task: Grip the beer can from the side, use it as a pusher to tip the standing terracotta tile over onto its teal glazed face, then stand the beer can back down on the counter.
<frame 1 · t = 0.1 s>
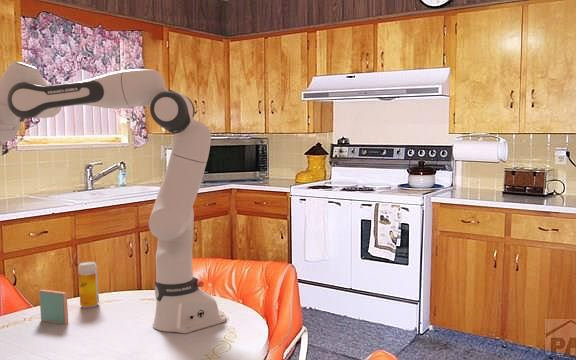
tile: (54, 321, 173), on the table
beer can: (89, 306, 188), on the table
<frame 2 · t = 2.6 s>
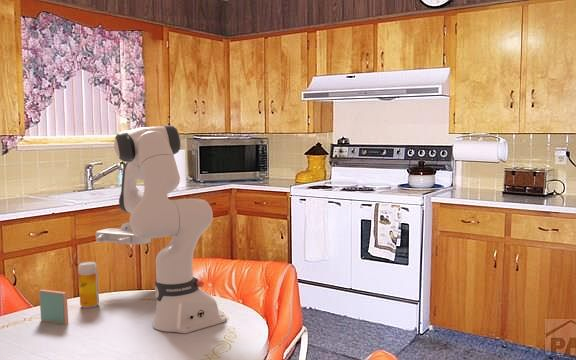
hand: (108, 241, 197), 20 cm above the table, tool horizontal, fingers open, 8 cm apart
nothing on the table moved.
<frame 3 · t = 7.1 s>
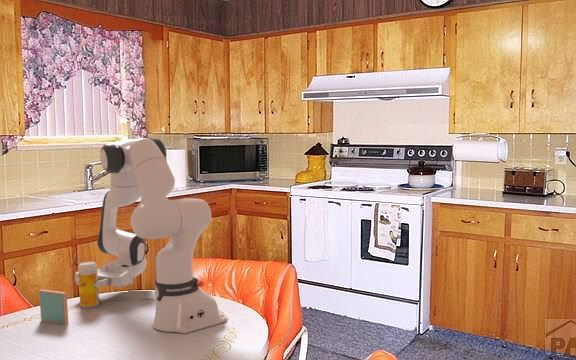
hand: (86, 283, 186), 8 cm above the table, tool horizontal, fingers closed on beer can, 6 cm apart
beer can: (89, 306, 188), on the table, touching gripper
everything else where it was.
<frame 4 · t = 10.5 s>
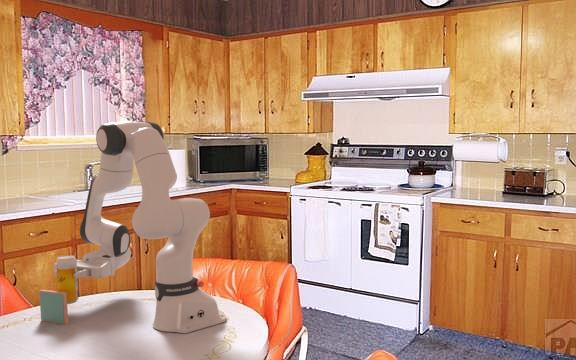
hand: (65, 274, 177), 14 cm above the table, tool horizontal, fingers closed on beer can, 6 cm apart
beer can: (68, 302, 179), point 4 cm above the table, touching gripper
everything else where it was.
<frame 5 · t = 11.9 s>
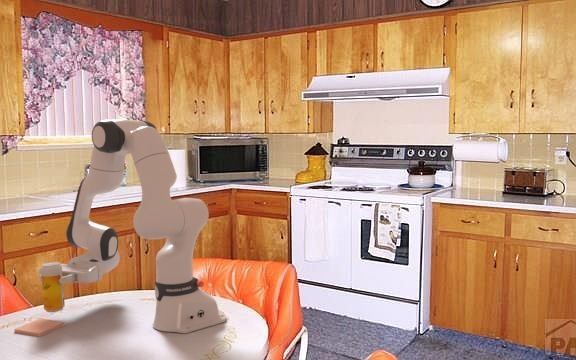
hand: (50, 280, 171), 14 cm above the table, tool horizontal, fingers closed on beer can, 6 cm apart
tile: (52, 321, 172), on the table, tilted 90°
beer can: (54, 310, 173), point 4 cm above the table, touching gripper
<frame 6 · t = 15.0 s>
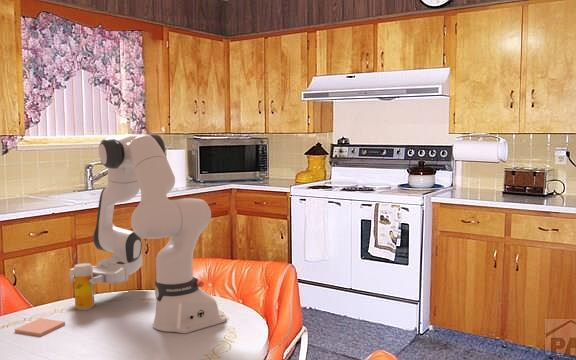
hand: (81, 280, 184), 10 cm above the table, tool horizontal, fingers closed on beer can, 6 cm apart
beer can: (85, 308, 186), on the table, touching gripper
everything else where it was.
when the fingers open (10 cm above the table, at t = 15.0 s): beer can stays where it is, on the table.
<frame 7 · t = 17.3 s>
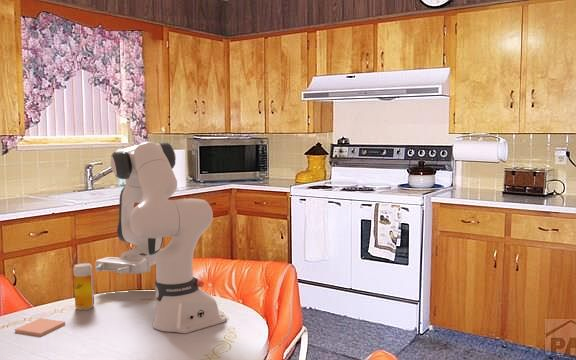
hand: (107, 270, 196), 10 cm above the table, tool horizontal, fingers open, 8 cm apart
beer can: (85, 308, 186), on the table
everything else where it was.
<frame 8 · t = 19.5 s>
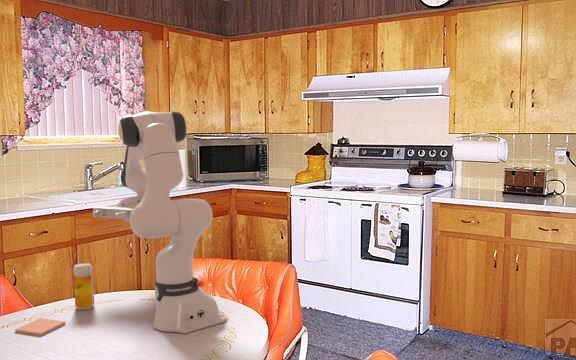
hand: (104, 215, 194), 30 cm above the table, tool horizontal, fingers open, 8 cm apart
nothing on the table moved.
at the end: tile tilted 90°; beer can tilted 0°; beer can inside the target area (0.2 cm from its centre), on the table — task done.
